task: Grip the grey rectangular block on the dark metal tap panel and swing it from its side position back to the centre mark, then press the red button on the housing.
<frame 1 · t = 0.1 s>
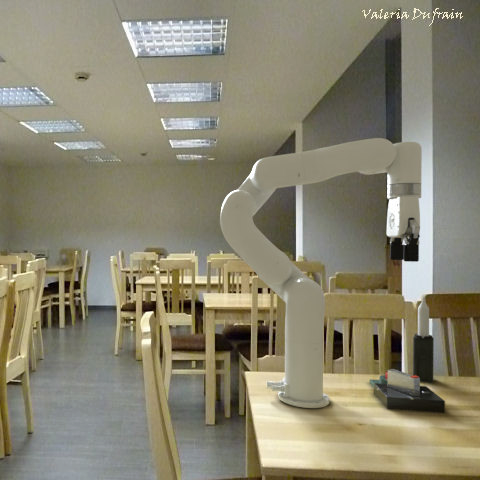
hand: (403, 260, 111), 37 cm above the table, tool pointing down, fingers open, 9 cm apart
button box: (392, 389, 124), on the table
button: (392, 376, 124), point 3 cm above the table, slide at 0.1 cm
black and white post: (423, 380, 133), on the table
grey rectangular block: (403, 381, 113), point 5 cm above the table, hinge at -60.0°
tap panel: (407, 403, 113), on the table
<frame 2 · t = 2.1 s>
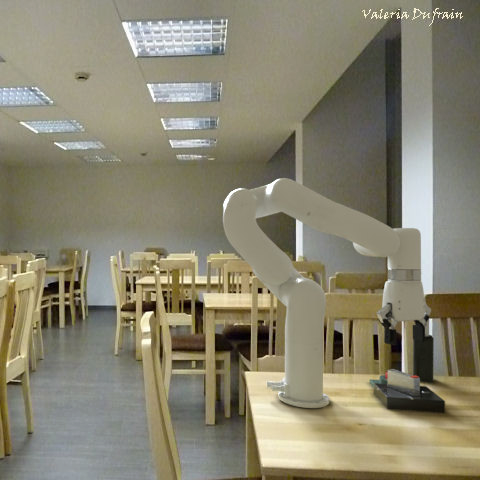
hand: (404, 342, 113), 16 cm above the table, tool pointing down, fingers open, 9 cm apart
nothing on the table moved.
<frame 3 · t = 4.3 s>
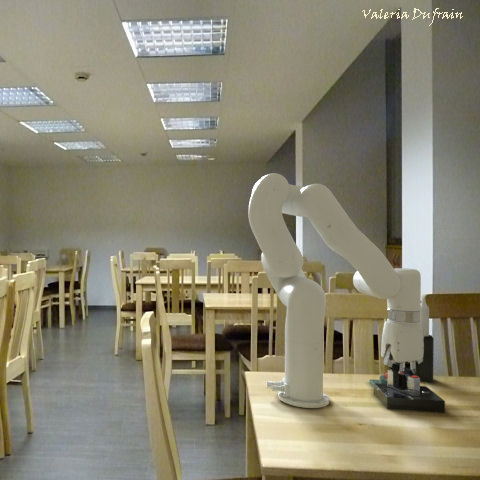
hand: (403, 387, 113), 4 cm above the table, tool pointing down, fingers closed on grey rectangular block, 2 cm apart
grey rectangular block: (403, 381, 113), point 5 cm above the table, hinge at -60.0°, touching gripper
everything else where it was.
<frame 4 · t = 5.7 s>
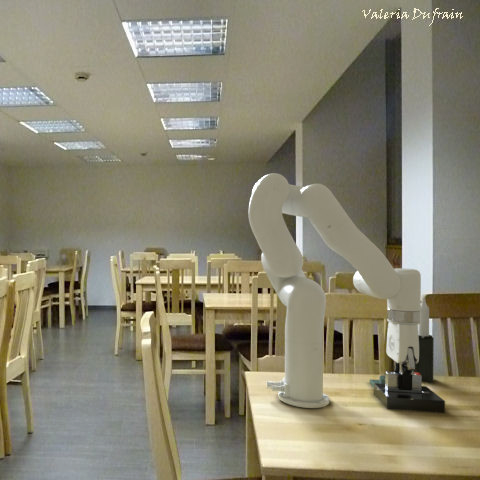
hand: (403, 387, 113), 4 cm above the table, tool pointing down, fingers closed on grey rectangular block, 2 cm apart
grey rectangular block: (403, 381, 113), point 5 cm above the table, hinge at -0.1°, touching gripper
everything else where it was.
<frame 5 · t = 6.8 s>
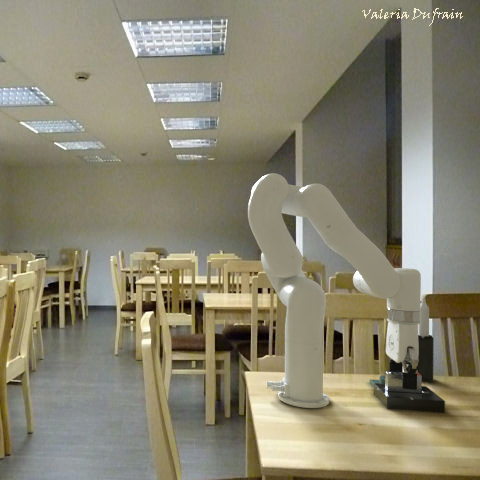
hand: (402, 382, 113), 5 cm above the table, tool pointing down, fingers open, 9 cm apart
grey rectangular block: (403, 381, 113), point 5 cm above the table, hinge at -0.1°
everything else where it was.
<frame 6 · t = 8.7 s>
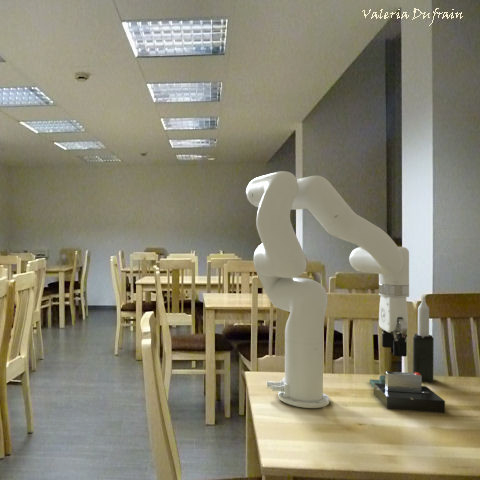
hand: (393, 351, 124), 11 cm above the table, tool pointing down, fingers open, 9 cm apart
nothing on the table moved.
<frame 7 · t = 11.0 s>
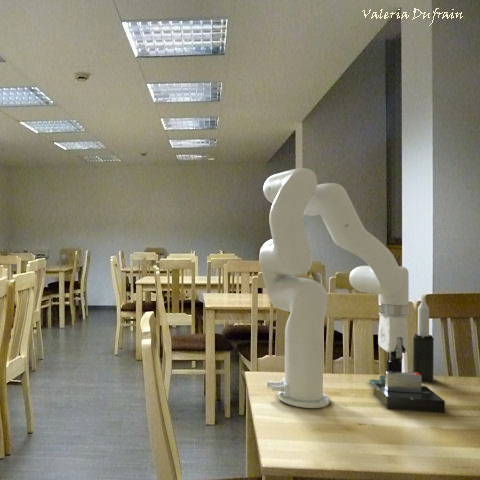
hand: (393, 375, 124), 4 cm above the table, tool pointing down, fingers closed
button: (392, 378, 124), point 3 cm above the table, slide at -0.4 cm, touching gripper
everything else where it was.
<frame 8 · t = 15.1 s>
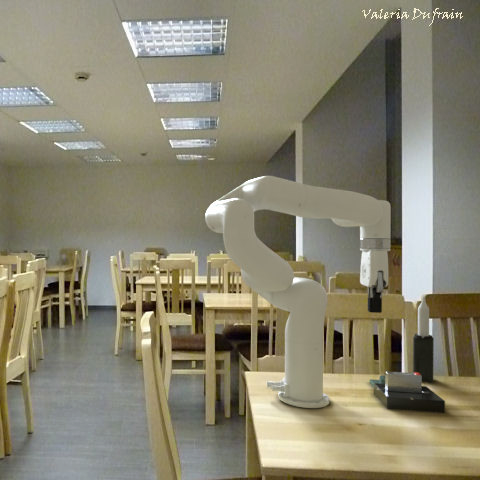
hand: (374, 311, 121), 22 cm above the table, tool pointing down, fingers closed
button: (392, 376, 124), point 3 cm above the table, slide at 0.1 cm
everything else where it was.
at the end: grey rectangular block at +0° (first picture: -60°); button pushed in 1.1 cm at the most during the clip and back out by the end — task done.
